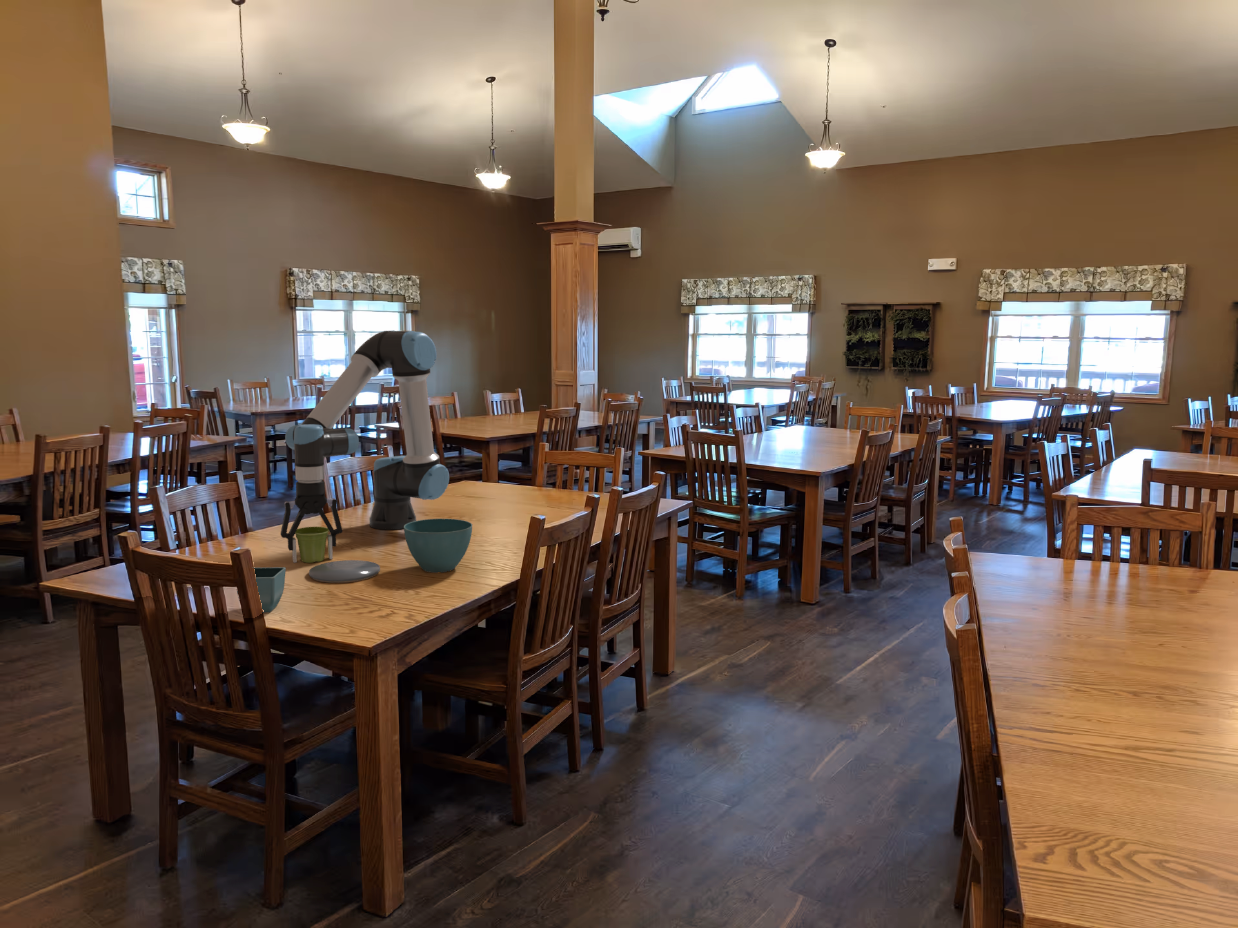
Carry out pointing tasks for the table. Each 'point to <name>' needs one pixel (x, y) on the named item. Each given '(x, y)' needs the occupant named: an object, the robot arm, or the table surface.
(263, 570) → the flower pot
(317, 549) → the plant pot
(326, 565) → the trivet
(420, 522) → the teal bowl
